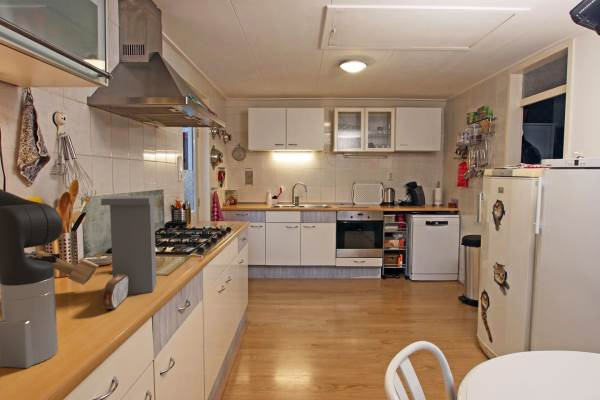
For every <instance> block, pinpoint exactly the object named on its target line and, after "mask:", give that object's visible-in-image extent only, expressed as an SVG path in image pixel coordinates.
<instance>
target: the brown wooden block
mask: <svg viewBox="0 0 600 400" xmlns="http://www.w3.org/2000/svg"><path fill="white" fill-rule="evenodd" d="M37 252H38V253H37V254H36V256H42V257H43V256H52V255H50V254H51V253H48V252H47V253H46V251H43V250H42V249H41V250H39V251H37ZM56 258H57V257H56ZM52 264H53V267H54V270H56V271H59V272H61V273H63V274H64V275H65V274H66V275H68V278H67V279H69V280H71V281H73V282H76V283H78V284H80V285H82V286H85V284H86V283H87V282H88V281H89V280H90V279H91V278H92V277H93V275H94V274H95V272H96V271H97V269H98V268H99V266H100V265H98V264H96V263H94V262H92V261H91V260H88V259H86V258H84V259H82V260H80V261H79V262H78V263H77V264H76V265H74V264H73V263H71V262H68V261H65V260H63V259H61V258H60V259H59V258H57V261H56V262H55V263H52Z"/></svg>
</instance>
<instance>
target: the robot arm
mask: <svg viewBox="0 0 600 400" xmlns="http://www.w3.org/2000/svg"><path fill="white" fill-rule="evenodd" d="M63 229H64V223H63V219H62V217H61V215H60V213H59V212H58V210H56V209H55V208H54V207H53V206H51V205H50V204H48V203H43V202H38V201H34V200H30V199H26V198H24V197H21V196H18V195H16V194H14V193H11V192H9V191H6V190H3V189H2V188H0V303H1V304H0V307H1V320H0V368H1V367H2V368H20V369H21V368H23V369H27V368H30V367H32V366H33V365H36V364H39V363H42V362H44V361H47V360H49V359H50V358H52V357H54V356H55V355H56V354H57V353H58V351H59V346H58V345H59V344H58V342H59V341H58V326H57V325H58V324H57V310H56V309H57V308H56V307H57V302H56V290H55V289H56V286H55V269H54V267H53V264H52V263H55V262H56V261H57V258H59V259H61V254H60V253H49V254H50V255H52V256H43V257H42V256H36V254H37V253H38V252H39V251H31V252H25V249H28V248H29V249H30V248H36V247H41V246H45V245H49V244H51V243H53V242H56V240H59V238H60V236H61V235H62V233H63ZM45 252H46V251H45ZM46 253H48V252H46ZM56 257H57V258H56Z"/></svg>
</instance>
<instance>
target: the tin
mask: <svg viewBox="0 0 600 400" xmlns="http://www.w3.org/2000/svg"><path fill="white" fill-rule="evenodd" d="M128 291H129V277H128V276H127V275H120V274H118V275H116V276H115V277H114V278H113V277H112V278H111V279H109V280H108V281H107V282H106V284H105V285H104V288H103V292H102V297H101V300H102V301H101V302H102V306H103V309H104V310H115V309H117V308H118V307H119V306H120V305H122V303H123V302H124V301H126V299H127V297H128V295H129V294H128Z"/></svg>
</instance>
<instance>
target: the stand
mask: <svg viewBox="0 0 600 400" xmlns="http://www.w3.org/2000/svg"><path fill="white" fill-rule="evenodd" d="M155 201H156V198H155V195H121V196H120V195H118V196H117V195H115V196H113V195H112V196H108V197H104V198H101V199H100V202H101V203H100V205H101V206H109V213H110V215H109V217H110V219H109V220H110V237H111V238H110V241H111V244H110V245H111V264H112V268H111V269H112V278H114V277H115V276H116V275H118V274H120V275H127V276H128V277H129V291H128V295H134V294H135V295H136V294H137V295H138V294H146V293H147V294H148V293H153V292H154V290H155V288H156V286H157V261H156V259H157V257H156V234H155V233H156V231H155V230H156V228H155V227H156V226H155V225H156V223H155Z"/></svg>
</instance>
